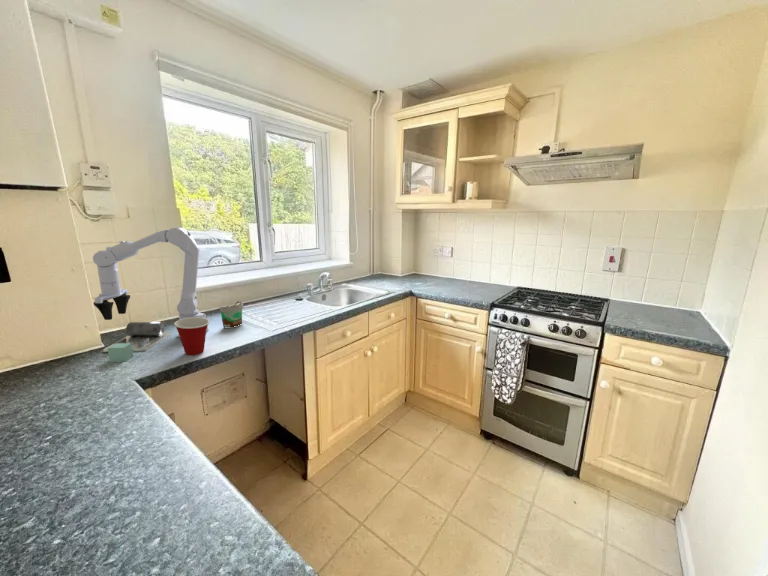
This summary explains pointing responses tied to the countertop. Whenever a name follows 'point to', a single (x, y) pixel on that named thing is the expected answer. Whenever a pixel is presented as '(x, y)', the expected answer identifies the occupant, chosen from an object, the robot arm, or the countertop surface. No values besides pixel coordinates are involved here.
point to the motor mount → (143, 335)
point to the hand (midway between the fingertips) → (115, 316)
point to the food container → (232, 314)
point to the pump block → (120, 352)
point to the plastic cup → (192, 334)
